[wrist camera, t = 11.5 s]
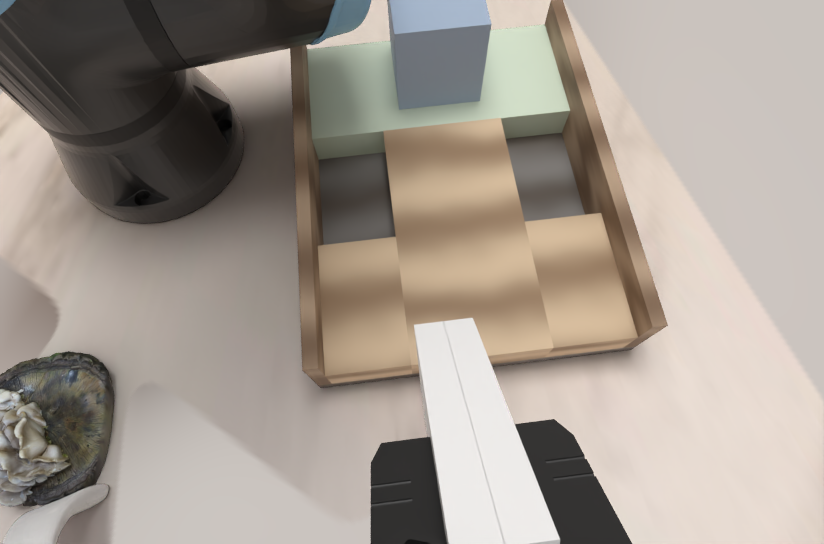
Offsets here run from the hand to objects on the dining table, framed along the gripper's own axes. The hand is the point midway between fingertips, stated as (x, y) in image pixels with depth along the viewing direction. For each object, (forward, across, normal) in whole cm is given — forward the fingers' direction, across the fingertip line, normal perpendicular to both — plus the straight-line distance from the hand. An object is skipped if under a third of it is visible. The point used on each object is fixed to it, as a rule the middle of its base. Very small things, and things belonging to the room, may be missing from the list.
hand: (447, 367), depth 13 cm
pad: (+40, +4, +3) cm, 40 cm away
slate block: (+37, +4, +6) cm, 38 cm away
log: (+22, -28, -15) cm, 39 cm away
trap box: (+33, +4, -4) cm, 33 cm away
